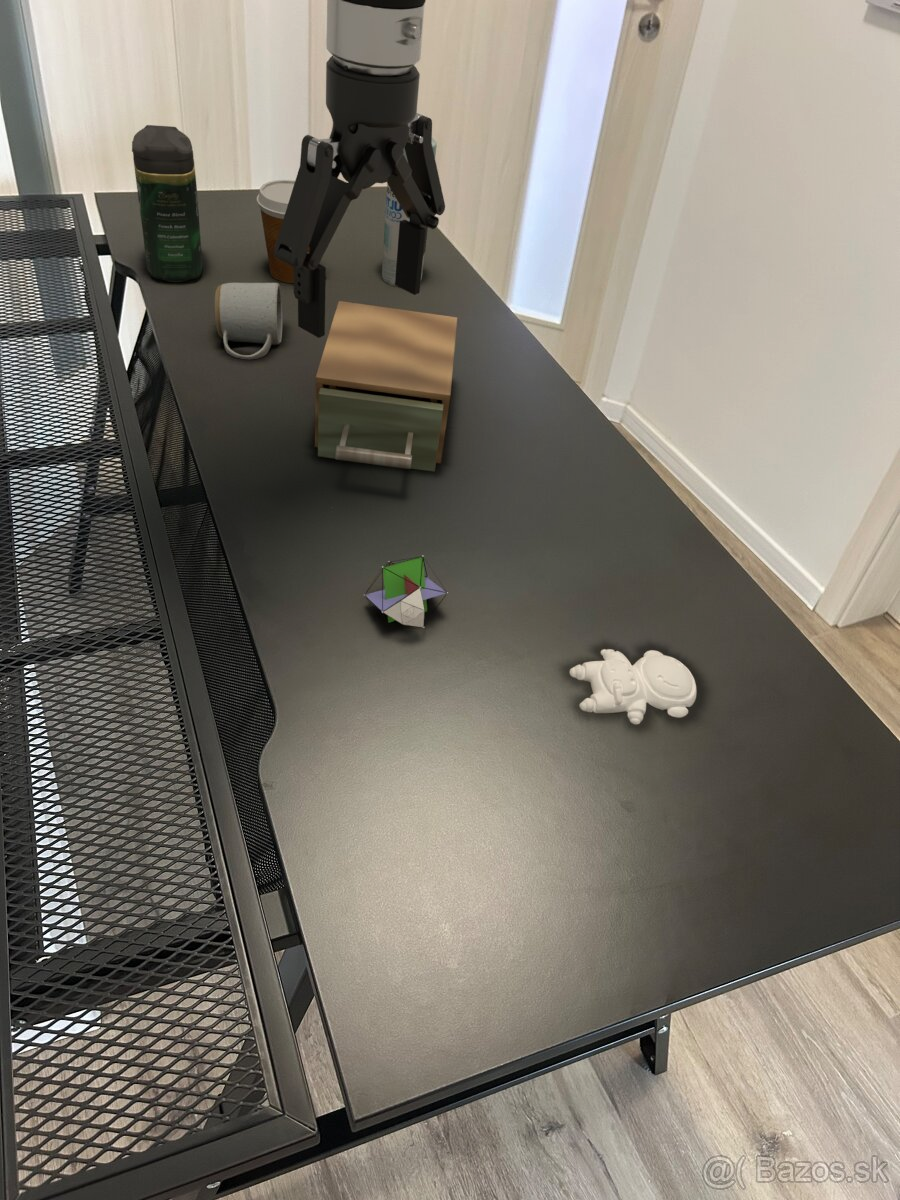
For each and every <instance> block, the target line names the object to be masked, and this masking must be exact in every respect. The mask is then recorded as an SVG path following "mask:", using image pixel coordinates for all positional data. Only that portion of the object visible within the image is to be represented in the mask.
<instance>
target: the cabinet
mask: <svg viewBox="0 0 900 1200" xmlns="http://www.w3.org/2000/svg"><path fill="white" fill-rule="evenodd" d="M335 309H336V310H335V312H334V315H333V318H332V322H331V326H330V328H329V332H328V335H327V338H326V342H325V345H324V348H323V352H322V355H321V359H320V362H319V365H318V369H317V371H316V375H315V403H314V406H315V408H314V410H315V412H314V416H315V417H314V448H318V412H319V391H320V388H326V389H329V385H333V386H340V387H348V388H355V389H362V390H370V391H377V392H385V393H392V394H399V395H407V396H414V397H422V398H429V399H436V400H438V401H439V404H443V405H444V406H443V415H442V422H441V429H440V436H439V444H438V451H437V458H436V464H441V463H442V457H443V450H444V443H445V437H446V429H447V423H448V415H449V407H450V400H451V393H452V381H453V372H454V371H453V370H454V361H455V360H454V359H455V349H456V338H457V326H458V317H456V316H450V315H442V314H435V313H428V312H423V311H421V312H420V311H414V310H407V309H401V308H393V307H385V306H379V305H372V304H364V303H358V302H351V301H350V302H349V301H343V300H338V302H337V306H336V308H335Z"/></svg>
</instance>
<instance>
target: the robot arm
mask: <svg viewBox="0 0 900 1200" xmlns="http://www.w3.org/2000/svg"><path fill="white" fill-rule="evenodd" d="M425 3H426V0H326V35H325V36H326V39H325V45H326V50H327V51H328V53H329V54H330V55H331V56H330V57H329V58H328V60H327V61H326V64H325V65H326V66H325V105H326V108H327V110H328V112H329V114H330V117H331V119H332V120H331V121H332V127H331V132H330V135H329V137H328V138H317V137H314V136H312V135H310V134H306V135H304V136H303V138H302V140H301V146H300V147H301V148H300V161H299V167H298V171H297V174H296V177H295V180H294V181H295V183H294V187H293V190H292V193H291V196H290V200H289V203H288V206H287V209H286V212H285V216H284V219H283V222H282V225H281V229H280V232H279V235H278V238H277V241H276V245H275V248H274V256H275V257H276V258H277V259H279V260H281V261H283V262H285V263H287V264H289V265H291V266H293V278H294V283H293V295H294V298H295V299H296V300H297V327H298V328H300V329H302V330H304V331H305V332H307V333H309V334H311V335H312V336H314V337H316V338H317V339H321V338H322V337H325V336H326V335H325V334H326V281H327V280H326V278H327V277H326V273H327V267H326V266H324V265H323V264H320V263H321V260H322V259H323V256H324V254H325V253H326V251H327V249H328V247H329V245H330V243H331V241H332V239H333V237H334V235H335V233H336V232H337V230H338V227H339V226H340V223H342V220H343V218H344V216H345V214H346V212H347V210H348V208H349V206H350V204H351V202H353V201H354V200H357V199H358V198H359V197H360V195H361V193H362V192H363V190H365V189H369V188H371V187H373V186H374V185H376V184H385V183H388V185H389V187H390V189H391V190H392V192H393V194H394V195H395V197H396V199H397V201H398V202H399V204H400V206H401V208H402V209H403V211H404V213H405V214H406V216H407V217H408V218H409V219H410V220H409V221H407V220H402V221H400V224H399V237H398V250H397V263H396V276H395V285H396V286H398V287H397V288H399V289H402V290H403V291H406V292H408V293H409V294H412V295H414V296H416V295H418V294H420V292H421V283H422V279H421V272H422V262H423V256H424V257H425V254H424V253H426V248H427V239H428V230H429V229H431V230H435V229H437V228H438V226H439V223H440V219H439V217H438V216H442V215H443V214H444V212H445V210H446V203H445V199H444V193H443V189H442V184H441V180H440V175H439V169H438V167H437V161H436V155H435V156H434V152H433V147H432V138H433V120H432V118H430V117H428V116H425V115H423V114H420V113H417V112H418V111H417V110H418V103H419V102H418V100H419V89H420V77H421V74H420V72H419V71H418V68H417V67H416V66H415V65H417V63H418V62H420V60H421V57H422V44H423V43H422V41H423V28H424V17H425V16H424V14H425ZM404 148H405V152H406V156H407V160H408V162H407V160H406V158H405V156H404V151H403V150H404ZM340 174H341V176H342V178H343V179H344V180H345V181H344V180H343V179H340V178H339V177H340ZM436 215H438V216H436ZM428 228H429V229H428ZM308 247H310V252H307V250H308ZM422 273H423V272H422ZM396 286H395V287H396Z"/></svg>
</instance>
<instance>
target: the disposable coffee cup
mask: <svg viewBox="0 0 900 1200" xmlns="http://www.w3.org/2000/svg"><path fill="white" fill-rule="evenodd" d="M294 183H295V180H293V179H278V180H271V181H267V182H265V183H263V184H262V185H261V186H260V187H259V193H258V194H257V196H256V203H257V204H258V207H259V209H260V215H261V222H262V228H263V234H264V241H265V247H266V253H267V259H268V267H269V272H270V275H271V277H273V278H274V279H276V280H277V281H279V282H281V283H282V282H283V283H288V284H294V278H293V266H291V265H289V264H287V263H285V262H283V261H281V260H279V259H277V258H276V257H275V256H274V248H275V245H276V241H277V238H278V235H279V232H280V229H281V225H282V222H283V219H284V216H285V212H286V209H287V206H288V203H289V200H290V196H291V193H292V190H293V187H294ZM307 252H310V247H308V250H307Z"/></svg>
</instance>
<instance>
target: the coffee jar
mask: <svg viewBox="0 0 900 1200" xmlns="http://www.w3.org/2000/svg"><path fill="white" fill-rule="evenodd" d="M131 152H132V157H133V158H132V159H133V167H134V174H135V182H136V191H137V200H138V207H139V214H140V221H141V229H142V230H141V231H142V237H143V248H144V255H145V260H146V268H147V271H148V273H149V275H150V276H151V277H152V278H154V279H158V280H162V281H167V282H170V283H182V282H183V283H184V282H186V281H190V280H194V279H195V280H196V279H198V278H199V277H200V276H201V274H202V271H203V255H202V254H203V253H202V241H201V229H200V227H201V226H200V212H199V211H200V209H199V199H198V186H197V175H196V166H195V159H194V158H195V157H194V150H193V145H192V142H191V139H190V137H188V135H186V134H185V133H184V132H183V131H181V130H179V129H178V127H177V126H171V125H170V126H168V125H153V124H147V125H145V126H144V127H143V128H142V129H140V130H138V131H137V132H136V133H135V134H134V136H133V139H132V141H131Z"/></svg>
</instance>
